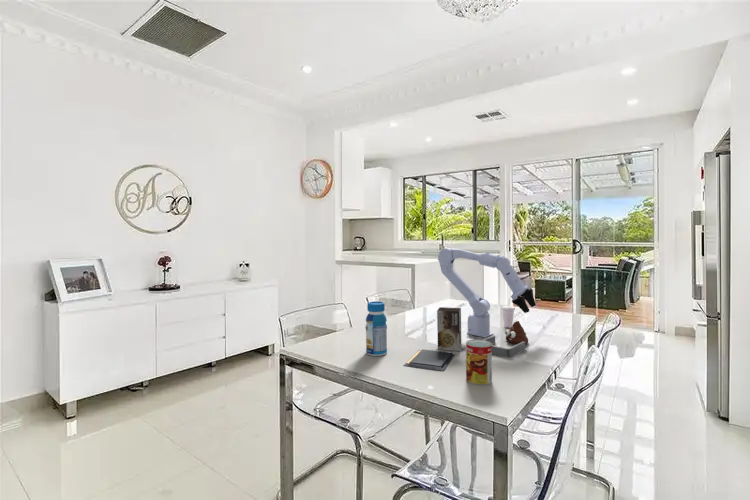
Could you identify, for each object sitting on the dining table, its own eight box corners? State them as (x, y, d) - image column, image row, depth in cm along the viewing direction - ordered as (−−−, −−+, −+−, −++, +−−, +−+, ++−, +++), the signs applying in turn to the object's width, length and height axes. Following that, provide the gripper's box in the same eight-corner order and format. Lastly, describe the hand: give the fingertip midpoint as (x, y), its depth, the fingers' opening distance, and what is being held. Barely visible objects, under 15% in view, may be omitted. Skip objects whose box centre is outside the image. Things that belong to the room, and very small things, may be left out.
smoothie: (515, 328, 186) (515, 299, 185) (502, 327, 187) (502, 299, 186) (513, 325, 192) (513, 297, 191) (500, 324, 193) (500, 297, 192)
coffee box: (461, 346, 157) (461, 307, 156) (460, 351, 151) (459, 310, 150) (439, 344, 160) (439, 306, 159) (437, 349, 154) (436, 309, 153)
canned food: (466, 374, 127) (466, 338, 126) (491, 376, 124) (491, 340, 124) (465, 383, 119) (465, 345, 118) (491, 386, 117) (491, 347, 116)
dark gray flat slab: (443, 368, 129) (401, 362, 136) (443, 373, 129) (401, 367, 136) (456, 351, 147) (419, 346, 154) (456, 356, 147) (419, 351, 154)
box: (475, 349, 153) (475, 342, 153) (493, 342, 163) (493, 335, 162) (509, 357, 143) (509, 349, 143) (525, 349, 153) (525, 341, 152)
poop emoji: (532, 344, 159) (533, 322, 159) (515, 346, 157) (515, 324, 156) (517, 338, 169) (517, 317, 168) (500, 340, 166) (500, 318, 166)
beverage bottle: (383, 357, 145) (382, 305, 144) (362, 355, 148) (361, 304, 147) (390, 351, 153) (389, 301, 152) (370, 349, 155) (369, 300, 155)
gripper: (514, 282, 160) (532, 311, 158) (527, 273, 171) (544, 300, 168) (501, 289, 165) (518, 317, 163) (514, 279, 176) (530, 306, 173)
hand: (530, 309), depth 166 cm, fingers open, 7 cm apart
